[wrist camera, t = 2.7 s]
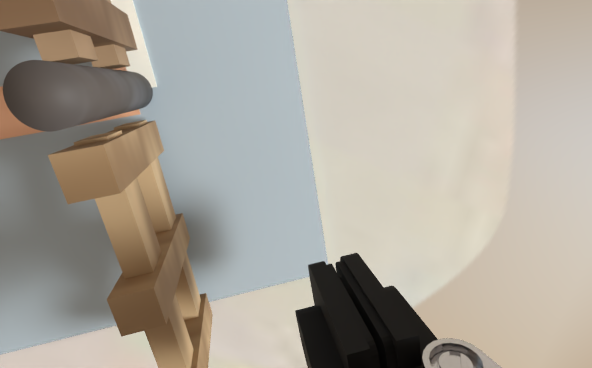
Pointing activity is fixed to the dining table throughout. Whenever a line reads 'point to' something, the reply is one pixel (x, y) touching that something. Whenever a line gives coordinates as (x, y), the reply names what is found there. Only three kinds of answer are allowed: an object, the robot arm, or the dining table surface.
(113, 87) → the fence fixed
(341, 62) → the dining table surface
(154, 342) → the fence fold
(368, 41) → the dining table surface
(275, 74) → the card
